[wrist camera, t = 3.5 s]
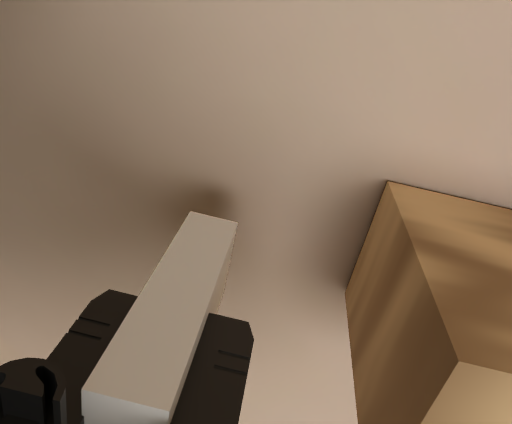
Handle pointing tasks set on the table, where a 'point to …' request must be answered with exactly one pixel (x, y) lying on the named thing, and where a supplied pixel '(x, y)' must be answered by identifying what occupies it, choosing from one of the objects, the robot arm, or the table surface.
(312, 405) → the table surface
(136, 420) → the robot arm
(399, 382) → the plug
